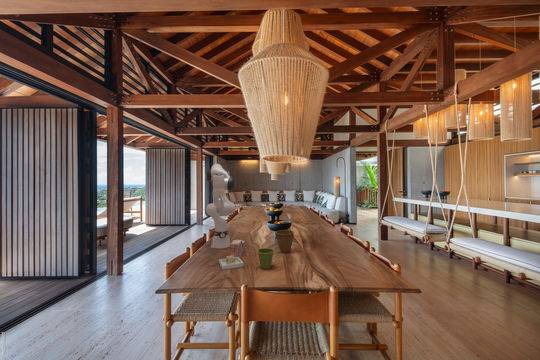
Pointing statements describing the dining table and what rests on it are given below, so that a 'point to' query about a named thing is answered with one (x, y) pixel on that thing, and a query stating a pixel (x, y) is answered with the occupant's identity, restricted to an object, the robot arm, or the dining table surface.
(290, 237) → the plant pot
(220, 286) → the dining table surface
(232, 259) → the maple block
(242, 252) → the patterned box
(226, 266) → the tray
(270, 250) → the plant pot
